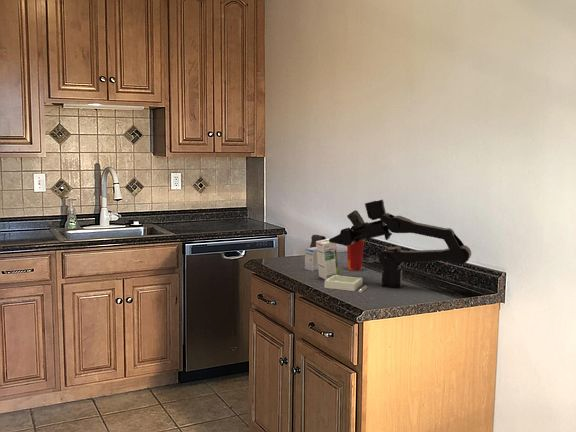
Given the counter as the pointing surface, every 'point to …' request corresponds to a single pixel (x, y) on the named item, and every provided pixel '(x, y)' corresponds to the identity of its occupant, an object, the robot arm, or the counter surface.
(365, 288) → the rod
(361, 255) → the paper cup
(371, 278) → the counter surface
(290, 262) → the counter surface
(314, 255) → the medicine box
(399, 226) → the robot arm
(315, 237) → the phone stand
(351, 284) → the tray
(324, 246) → the syrup box
